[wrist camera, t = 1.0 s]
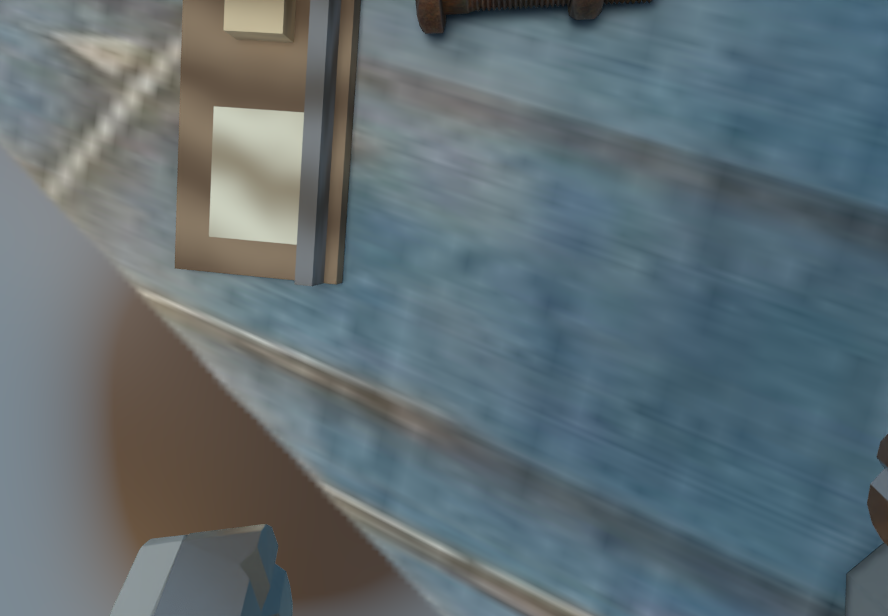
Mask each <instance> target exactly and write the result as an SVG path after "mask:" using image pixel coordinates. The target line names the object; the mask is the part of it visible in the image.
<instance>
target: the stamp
mask: <svg viewBox="0 0 888 616" xmlns="http://www.w3.org/2000/svg"><path fill="white" fill-rule="evenodd" d="M295 10H296V0H225V4H224V31H225V32H227V33H228V34H229V35H231V36H232V37H234V38H235V39H237V40H251V41H269V42H287V43H294V29H295Z"/></svg>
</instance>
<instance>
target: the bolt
mask: <svg viewBox="0 0 888 616" xmlns="http://www.w3.org/2000/svg"><path fill="white" fill-rule="evenodd" d="M624 1H625V2H626V3H627V4H628V3H629V2H630V1H631V2H632V3H635V1H637V2H638V3H640V2H641V0H416V10H417V17H418V21H419V25H420V27H421V29H422V31H423V32H424V33H426V34H431V33H443V32H444V28H445V25H446V15H449V14H465V13H470V12H473V11H475V10H477V11H480V9H481V8H482V10H483V11H485V9H486V8H487V9H488V11H490V9H491V8H493V10H495V9H496V8H498V10H501V8H502V7H503V9H504V10H506V8H507V7H508V8H509V10H511V8H512V7H514V9H516V8H517V7H518V6H519V8H520V9H521V8H522V7H523V6H524V7H525V9H527V7H528V6H529V7H530V8H531V9H532V7H533V6H535V7H536V8H537V7H538V6H539V5H540V7H541V8H543V6H544V5H545V6H546V7H547V8H548V6H549V5H551V6H552V8H553V6H554V5H555V4H556V6H557V7H558V6H559V5H560V4H561V5H562V6H563V7H564V5H565V4H567V6H568V13H569V16H570V17H572V18H574V19H576V20H583V19H595V18H596V17H597V16H598V15H599V14H600V13H601V11H602V7H603V3H605V4H606V5H607V4H608V2H609V3H610V4H611V5H612V4H613V2H615V3H616V4H618V3H619V2H620V3H621V4H623V3H624ZM646 1H648V2H649V3H650V2H651V1H652V0H642V2H643V3H645V2H646Z"/></svg>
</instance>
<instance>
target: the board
mask: <svg viewBox="0 0 888 616" xmlns="http://www.w3.org/2000/svg"><path fill="white" fill-rule="evenodd" d="M224 4H225V0H183V16H182V48H181V81H180V114H179V146H178V179H177V211H176V244H175V268H177V269H187V270H197V271H207V272H217V273H227V274H237V275H247V276H257V277H267V278H277V279H287V280H295V284H296V285H306V286H314V285H318V284H322V283H328V284H339V283H342V279H343V263H344V248H345V233H346V218H347V202H348V187H349V172H350V156H351V141H352V126H353V111H354V95H355V80H356V65H357V49H358V34H359V19H360V4H361V0H296V10H295V29H294V43H287V42H269V41H251V40H237V39H235V38H234V37H232V36H231V35H229V34H228V33H227V32H225V31H224Z"/></svg>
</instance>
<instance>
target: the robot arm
mask: <svg viewBox="0 0 888 616" xmlns="http://www.w3.org/2000/svg"><path fill="white" fill-rule="evenodd" d="M877 459H878V460H879V462H880V463H881V464H882V466H883V467H884V470H883V471H882V472H881V473H880V474H879V475H878V476H877V477H876V478H875V480H874V481H873V482H872V483H871V484H870V489H869V495H868V501H867V506H868V509H869V513H870V517H871V521H872V524H873V526H874V528H875V529H876V531H877V533H878V534H879V536H880V538H881V539H882V541H883V542H884V543H885V544H886V545H887V546H888V434H887V435H886V436H885V437H884V438H883V440H882V441H881V442H880V446H879V449H878V453H877ZM277 550H278V544H277V541H276V538H275V535H274V532H273V530H272V527H270V526H269V525H267V524H263V525H255V526H247V527H238V528H230V529H222V530H214V531H206V532H198V533H190V534H189V535H180V536H173V537H164V538H156V539H150V540H149V541H148V542H146V543H145V544H144V545H143V546H142V547H141V548H140V550H139V552H138V554H137V556H136V559H135V561H134V563H133V565H132V567H131V569H130V572H129V574H128V576H127V578H126V580H125V582H124V584H123V587H122V589H121V591H120V593H119V595H118V598H117V600H116V602H115V604H114V606H113V608H112V611H111V613H110V615H109V616H292V597H291V590H290V584H289V581H288V577H287V574H286V571H285V570H283V569H282V568H280V567H279V566H277V565H276V564H275V560H276V555H277Z"/></svg>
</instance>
